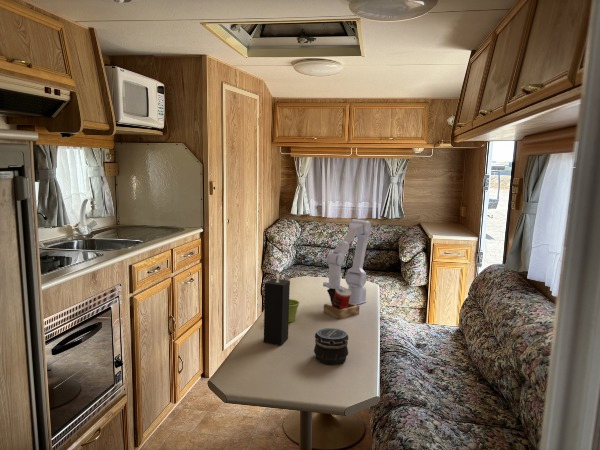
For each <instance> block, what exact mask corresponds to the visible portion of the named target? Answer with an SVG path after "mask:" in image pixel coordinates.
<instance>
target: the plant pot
mask: <svg viewBox="0 0 600 450" xmlns="http://www.w3.org/2000/svg"><path fill="white" fill-rule="evenodd" d="M299 305H300V301H298V300H296V299H292V298H291V299H290V298H289V323H294V322H295V321H296V319H297V318H296V317H297V312H298V307H299Z"/></svg>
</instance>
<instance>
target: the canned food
mask: <svg viewBox="0 0 600 450" xmlns="http://www.w3.org/2000/svg"><path fill="white" fill-rule="evenodd" d="M342 287H343V286H342ZM342 287H340V288H342ZM338 288H339V287H338ZM343 288H345V289H346V291H345V292H342V291H341V290H338V289H337V288H336V290H335V294H334V298H333V302H332V304H331V306H333V307H335V308H338V309H340V310H341V309H345V308H347V307H348V303H349V300H350V296H351V291H350V290H349V289H348V288H347V287H343Z"/></svg>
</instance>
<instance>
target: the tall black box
mask: <svg viewBox="0 0 600 450" xmlns="http://www.w3.org/2000/svg"><path fill="white" fill-rule="evenodd" d="M280 276H281V275H280V273H276V274H275V278H270V279H269V280H267V281H266V282H264V304H263V305H264V307H263V310H264V311H263V312H264V313H263V314H264V315H263V343H265V344H269V345H276V346H282V345H284V343H285V342H286V341H287V340H288V339H289V323H290V322H289V299H290V293H291V292H290V290H291V288H290V287H291V280H287V279H280Z"/></svg>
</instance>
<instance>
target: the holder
mask: <svg viewBox="0 0 600 450" xmlns="http://www.w3.org/2000/svg"><path fill="white" fill-rule="evenodd" d="M323 313H324V314H327V315H329V316H332V317H333V318H336V319H339V320H343V319H346V318H350V317H353V316H356V315H359V314H360V306H359V304H357V305H355V304H352V303H348V307H347V308H345V309H341V310H340V309H338V308H335V307H333V306H332V305H330V304H327V303H326V304H325V303H324V304H323Z"/></svg>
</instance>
